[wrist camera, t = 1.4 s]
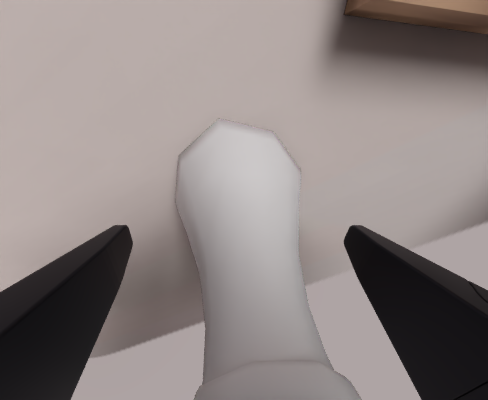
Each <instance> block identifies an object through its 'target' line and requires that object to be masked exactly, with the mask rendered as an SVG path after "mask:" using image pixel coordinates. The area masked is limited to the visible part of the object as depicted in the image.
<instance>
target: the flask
mask: <svg viewBox="0 0 488 400" xmlns="http://www.w3.org/2000/svg"><path fill="white" fill-rule="evenodd" d="M300 184H301V169H300V168H299V166H298V165H297V164H296V162H295V161H294V159H293V158H292V157H291V155H290V154H289V152H288V151H287V150H286V148H285V147H284V145H283V144H282V143H281V141H280V140H279V138H278V137H277V136H276V134H275V133H274V131H270V130H265V129H261V128H257V127H253V126H249V125H245V124H241V123H237V122H233V121H228V120H224V119H220V118H218V119H217V120H216V121H215V122H214V123H213V124H212V125H211V126H210V127H209V128H208V129H207V130H206V131H204V132H203V133H202V134H201V135H200V136H199V137H198V138H197V139H196V140H195V141H194V142H193V143H192V144H190V145H189V146H188V147H187V148H186V149H185V150H184V151H183V152H182V153H181V154H180V155H179V158H178V170H177V182H176V194H175V203H176V206H177V209H178V212H179V214H180V217H181V219H182V222H183V225H184V227H185V230H186V233H187V236H188V239H189V242H190V245H191V249H192V252H193V255H194V258H195V262H196V265H197V268H198V271H199V274H200V282H201V291H202V301H203V310H204V320H205V328H206V330H205V349H204V370H203V383H202V385H201V386H200V387H199V389H198V390H197V392H196V395H195V398H194V400H362V399H361V397H360V396H359V394H358V393H357V391H356V390H355V388H354V386H353V385H352V383H351V382H350V381H349V380H348V379H347V378H346V377H345V376H343V375H341V374H339V373H338V372H336V371H334V369H333V367H332V365H331V363H330V361H329V359H328V357H327V355H326V352H325V350H324V347H323V344H322V342H321V339H320V336H319V333H318V331H317V328H316V325H315V322H314V320H313V317H312V314H311V311H310V309H309V305H308V300H307V295H306V289H305V284H304V279H303V274H302V268H301V263H300V258H299V198H300Z"/></svg>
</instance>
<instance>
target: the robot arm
mask: <svg viewBox="0 0 488 400" xmlns="http://www.w3.org/2000/svg"><path fill="white" fill-rule="evenodd" d="M132 246H133V241H132V238H131V234H130V231H129V228H128V226H126V225H114V226H112V227H111V228H109V229H107V230H106V231H104V232H102V233H100V234H99V235H97V236H95V237H94V238H92V239H90V240H89V241H87V242H85V243H83V244H82V245H80V246H78V247H77V248H75V249H73V250H71V251H70V252H68V253H66V254H65V255H63V256H61V257H60V258H58V259H56V260H54V261H53V262H51V263H49V264H48V265H46V266H44V267H42V268H41V269H39V270H37V271H36V272H34V273H32V274H30V275H29V276H27V277H25V278H24V279H22V280H20V281H19V282H17V283H15V284H13V285H12V286H10V287H8V288H7V289H5V290H3V291H1V292H0V400H71V397H72V395H73V392H74V390H75V388H76V386H77V383H78V381H79V379H80V377H81V374H82V372H83V370H84V368H85V365H86V363H87V361H88V358H89V356H90V354H91V352H92V349H93V347H94V345H95V342H96V340H97V338H98V336H99V333H100V331H101V329H102V327H103V324H104V322H105V320H106V317H107V315H108V313H109V311H110V308H111V306H112V304H113V301H114V299H115V297H116V295H117V292H118V290H119V287H120V285H121V282H122V279H123V276H124V273H125V269H126V266H127V263H128V260H129V256H130V253H131V250H132ZM344 246H345V248H346V251H347V253H348V256H349V258H350V261H351V263H352V265H353V268H354V270H355V273H356V275H357V277H358V279H359V281H360V283H361V285H362V287H363V289H364V291H365V293H366V295H367V297H368V299H369V301H370V302H371V304H372V306H373V308H374V310H375V312H376V314H377V316H378V318H379V320H380V321H381V323H382V325H383V327H384V329H385V331H386V333H387V335H388V337H389V339H390V340H391V342H392V344H393V346H394V348H395V350H396V352H397V354H398V356H399V358H400V360H401V362H402V363H403V365H404V367H405V369H406V371H407V373H408V375H409V377H410V378H411V381H412V382H413V384H414V386H415V388H416V390H417V392H418V394H419V396H420V397H421V400H488V290H486V289H484V288H482V287H480V286H478V285H476V284H474V283H472V282H470V281H467V280H466V279H464V278H462V277H460V276H458V275H457V274H454V273H453V272H451V271H449V270H447V269H445V268H443V267H441V266H439V265H437V264H435V263H433V262H431V261H429V260H427V259H426V258H423V257H422V256H420V255H418V254H416V253H414V252H412V251H410V250H408V249H406V248H404V247H402V246H400V245H398V244H396V243H395V242H393V241H391V240H389V239H387V238H385V237H383V236H381V235H379V234H377V233H375V232H373V231H371V230H369V229H367V228H366V227H364V226H361V225H352V226H350V228H349V230H348V232H347V234H346V236H345V239H344Z"/></svg>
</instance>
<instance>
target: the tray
mask: <svg viewBox="0 0 488 400" xmlns="http://www.w3.org/2000/svg"><path fill="white" fill-rule="evenodd" d="M344 15H351V16H358V17H365V18H373V19H380V20H387V21H394V22H402V23H409V24H416V25H424V26H431V27H438V28H446V29H453V30H460V31H468V32H475V33H482V34H488V0H347V4H346V8H345V12H344Z"/></svg>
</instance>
